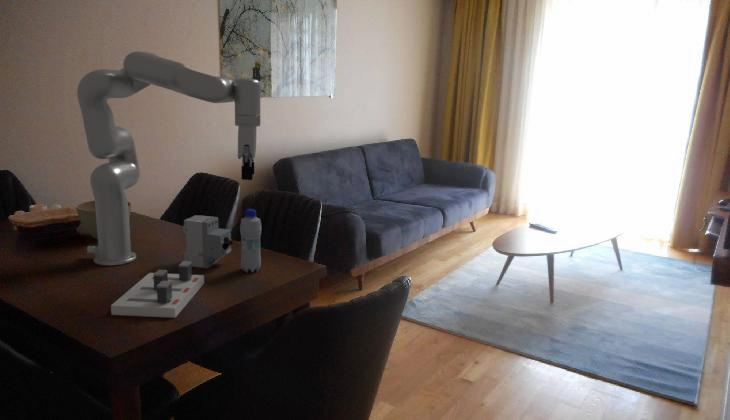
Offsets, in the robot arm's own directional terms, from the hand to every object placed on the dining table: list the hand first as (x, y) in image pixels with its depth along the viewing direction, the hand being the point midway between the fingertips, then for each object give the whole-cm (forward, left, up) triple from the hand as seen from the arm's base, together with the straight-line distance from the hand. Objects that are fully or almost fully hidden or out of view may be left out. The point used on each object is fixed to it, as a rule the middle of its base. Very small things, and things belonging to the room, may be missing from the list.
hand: (248, 176), depth 164 cm
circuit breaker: (-13, +3, -30) cm, 33 cm away
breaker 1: (-14, -34, -27) cm, 46 cm away
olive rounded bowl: (-59, +28, -30) cm, 72 cm away
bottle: (+1, -1, -30) cm, 30 cm away
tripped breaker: (-18, -26, -27) cm, 42 cm away
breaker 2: (-14, -18, -27) cm, 35 cm away
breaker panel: (-18, -26, -30) cm, 44 cm away
